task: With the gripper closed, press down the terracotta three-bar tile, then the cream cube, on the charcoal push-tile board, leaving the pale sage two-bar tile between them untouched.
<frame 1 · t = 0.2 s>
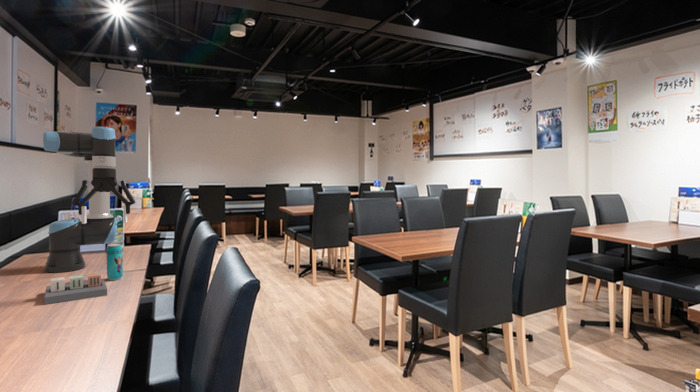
hand: (105, 223, 142), 26 cm above the table, fingers open, 13 cm apart
tile board: (76, 294, 138), on the table
tile two bar: (76, 282, 138), point 4 cm above the table, slide at 0.0 cm
beverage can: (115, 279, 159), on the table
tile three bar: (94, 279, 141), point 4 cm above the table, slide at 0.0 cm
cream cube: (57, 284, 134), point 4 cm above the table, slide at 0.0 cm
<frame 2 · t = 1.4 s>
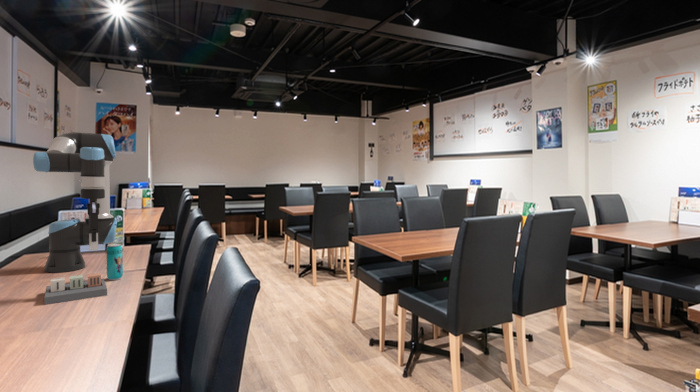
hand: (93, 249, 141), 16 cm above the table, fingers closed
nothing on the table moved.
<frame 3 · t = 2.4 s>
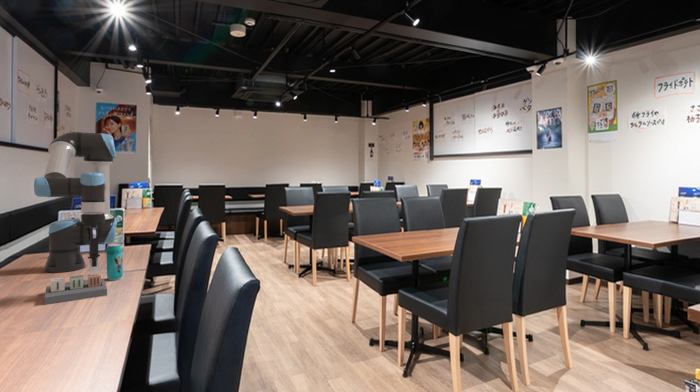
hand: (94, 274, 141), 7 cm above the table, fingers closed
tile three bar: (94, 280, 141), point 4 cm above the table, slide at 0.0 cm, touching gripper
everything else where it was.
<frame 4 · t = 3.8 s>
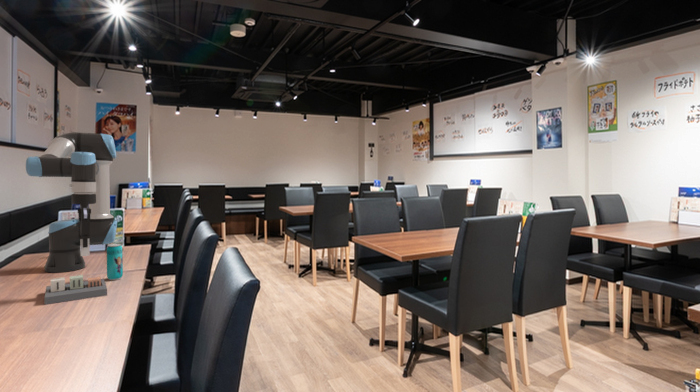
hand: (85, 255, 139), 14 cm above the table, fingers closed
tile three bar: (94, 283, 141), point 3 cm above the table, slide at 1.5 cm
everything else where it was.
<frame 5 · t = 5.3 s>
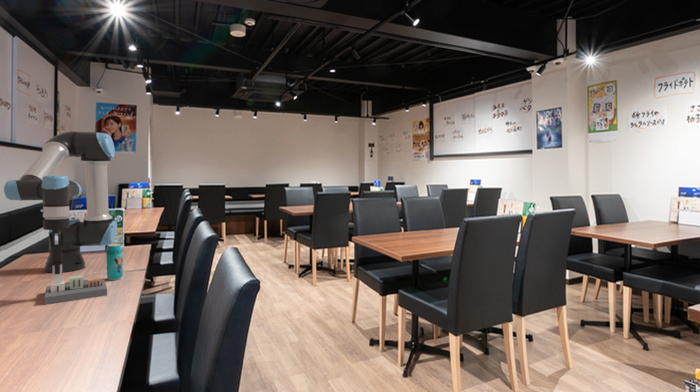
hand: (57, 282, 134), 5 cm above the table, fingers closed
cream cube: (57, 288, 135), point 3 cm above the table, slide at 1.4 cm, touching gripper
everything else where it was.
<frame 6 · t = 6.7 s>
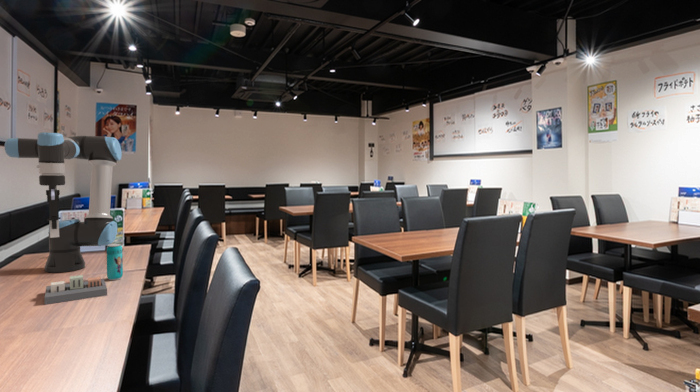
hand: (54, 237, 139), 21 cm above the table, fingers closed
cream cube: (57, 288, 135), point 3 cm above the table, slide at 1.5 cm
everything else where it was.
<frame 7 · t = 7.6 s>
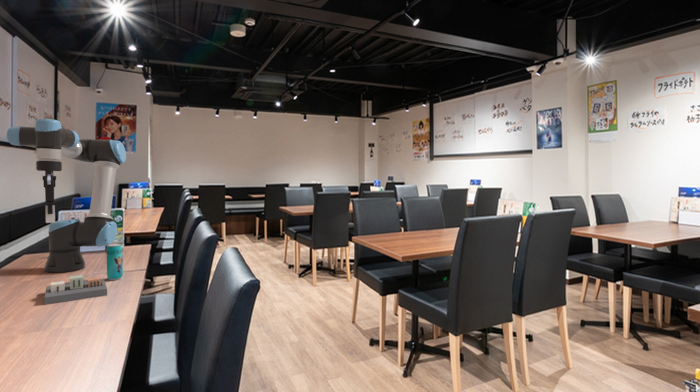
hand: (50, 222, 141), 26 cm above the table, fingers closed
nothing on the table moved.
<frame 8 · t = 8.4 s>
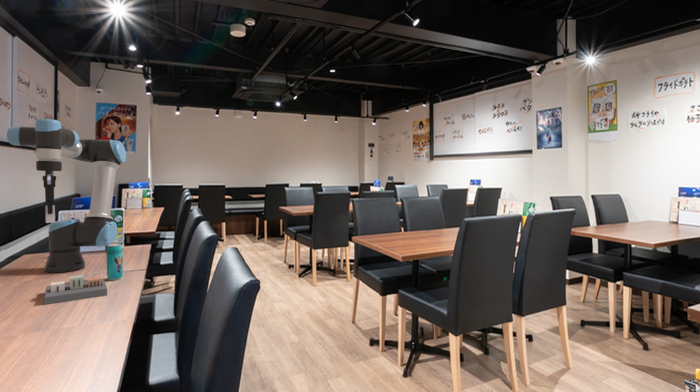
hand: (50, 222, 141), 26 cm above the table, fingers closed
nothing on the table moved.
at the end: tile three bar slide at 1.5 cm; cream cube slide at 1.5 cm; tile two bar slide at 0.0 cm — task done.
